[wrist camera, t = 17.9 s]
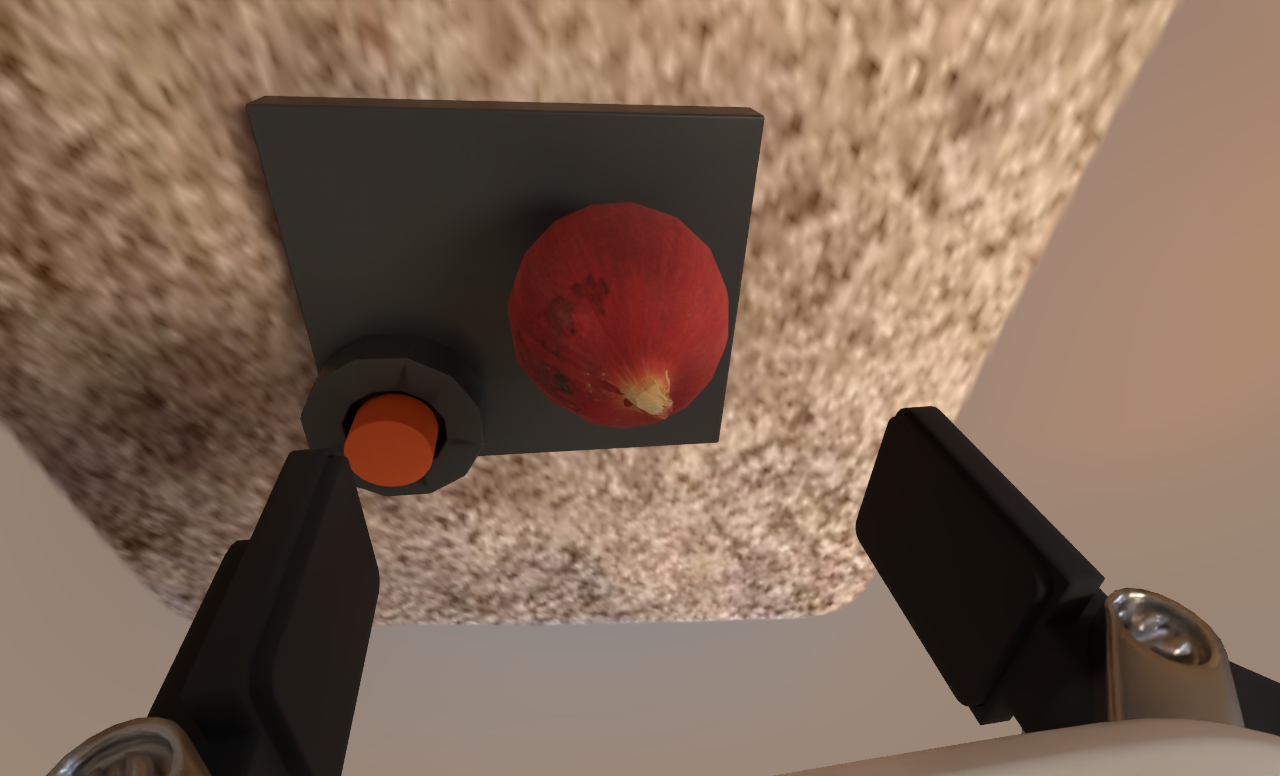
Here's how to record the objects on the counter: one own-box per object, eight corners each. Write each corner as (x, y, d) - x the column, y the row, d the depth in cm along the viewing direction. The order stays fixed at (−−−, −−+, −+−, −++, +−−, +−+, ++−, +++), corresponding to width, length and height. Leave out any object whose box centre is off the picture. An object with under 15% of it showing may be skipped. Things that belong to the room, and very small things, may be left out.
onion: (527, 353, 21) (526, 523, 15) (496, 180, 18) (477, 299, 11) (696, 332, 22) (768, 488, 15) (695, 161, 19) (785, 264, 12)
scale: (346, 446, 24) (324, 501, 21) (252, 95, 17) (205, 114, 15) (709, 427, 26) (728, 474, 24) (751, 106, 19) (784, 126, 17)
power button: (363, 458, 21) (352, 489, 20) (347, 394, 20) (334, 423, 18) (443, 454, 22) (437, 484, 20) (433, 391, 20) (426, 419, 19)
